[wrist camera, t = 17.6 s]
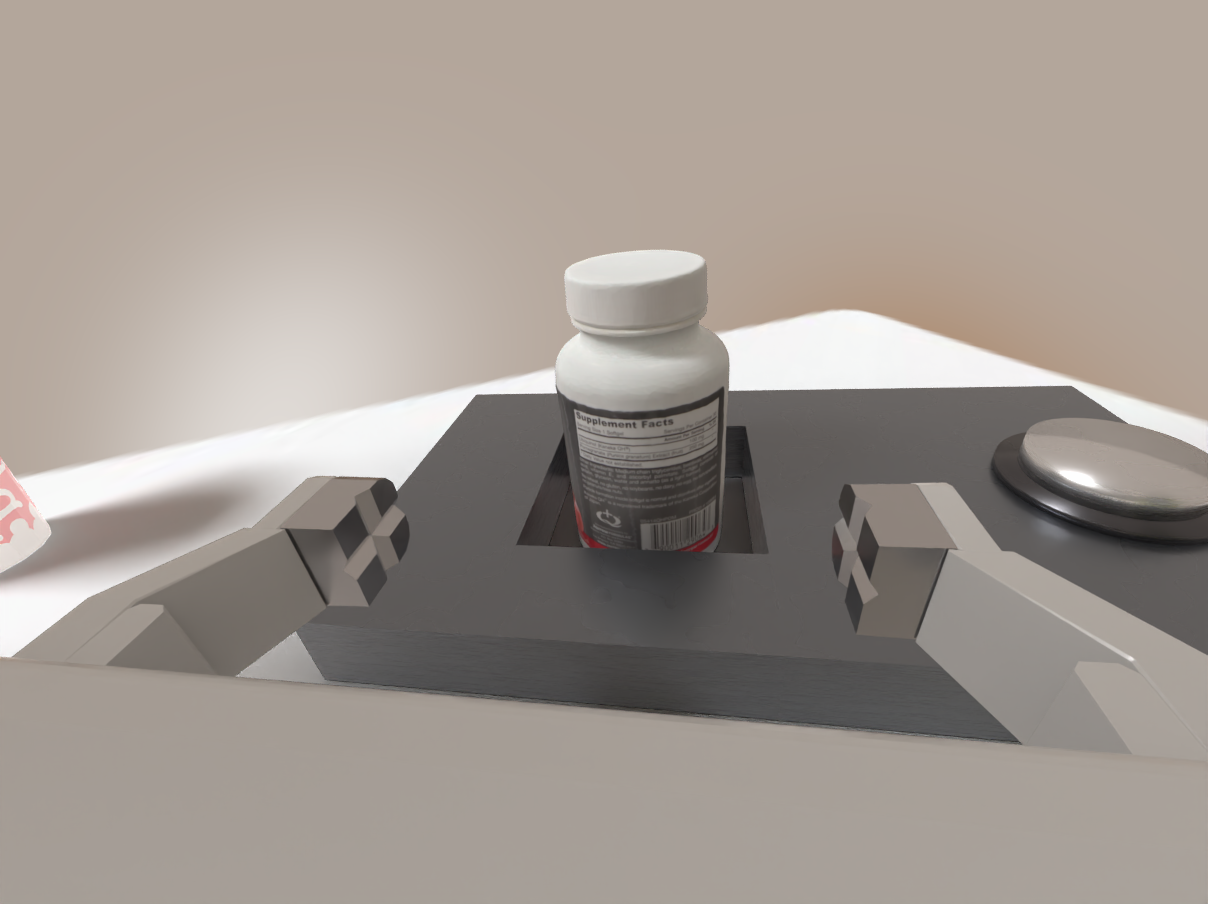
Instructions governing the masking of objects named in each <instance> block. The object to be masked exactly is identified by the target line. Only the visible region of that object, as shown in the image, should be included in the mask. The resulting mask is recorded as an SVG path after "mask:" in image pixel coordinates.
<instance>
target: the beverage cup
mask: <svg viewBox="0 0 1208 904" xmlns="http://www.w3.org/2000/svg"><path fill="white" fill-rule="evenodd" d="M51 534H52V533H51V529H50V526H49V524H48V523H47V522H46V520H45V519H44V517H43V516H42V515H41V513H40V512H39V510H38V509H37V508H36V506H35V505H34V503H33V502H32V501H31V499H30V498H29V496H28V495H27V493H26V492H25V491H24V489H23V488H22V486H21V485H20V484H19V482H18V481H17V479H16V478H15V477H14V475H13V474H12V472H11V471H10V470H9V468H8V467H7V466H6V464H5V463H4V461H3V460H2V458H1V457H0V573H1V572H3V571H5V570H7V569H8V568H10V567H12V566H14V565H16V564H17V563H19V562H21V561H23V560H24V559H26V558H27V557H28V556H30V555H31V554H32V553H34V552H35V551H36V550H37V549H39V548H40V547H41V546H43V545H44V543H45V542H46V540H47V539H48V538H49V536H50V535H51Z"/></svg>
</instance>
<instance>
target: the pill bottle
mask: <svg viewBox="0 0 1208 904" xmlns="http://www.w3.org/2000/svg"><path fill="white" fill-rule="evenodd" d="M564 276H565V292H566V302H567V312H568V314H569V315H570V316H571V322H572V324H573V325H574V326H575V327H576V328H578V329H579V330H580V333H579V334H577V335H576V336H575V337H573V338H572V339H571V340H569V341H568V342H567V343H566V344H565V345H564V347H563V348H562V349H561V351H560V353H559V355H558V357H557V361H556V365H555V376H556V390H557V394H558V400H559V406H560V412H561V418H562V425H563V430H564V437H565V444H566V451H567V457H568V464H569V471H570V478H571V485H572V492H573V499H574V508H575V515H576V521H577V526H578V532H579V537H580V541H581V544H582V546H583V547H584V548H611V549H638V550H664V551H691V552H714V550H715V548H716V547H717V545H718V543H719V540H720V535H721V529H722V514H723V497H724V485H725V482H724V481H725V452H726V422H727V405H728V390H729V356H728V352H727V349H726V347H725V345H724V344H723V342H722V341H721V340H720V338H719V337H718V336H717V335H716V334H714V333H713V332H712V331H710V330H709V329H707V328H705V327H703V326H701V325H699V320H701V319H702V318H703V317H704V315H705V314H706V311H707V307H706V305H707V303H708V294H707V266H706V261H705V260H704V258H702V257H701V256H699V255H696V254H694V253H689V252H683V251H673V250H642V251H630V252H620V253H613V254H607V255H601V256H597V257H593V258H589V259H586V260H583V261H580V262H577V263H575V264H573V265H571V266H570V267H569V268H568V269H567V270H566V272H565V275H564Z"/></svg>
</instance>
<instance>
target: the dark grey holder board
mask: <svg viewBox="0 0 1208 904" xmlns="http://www.w3.org/2000/svg"><path fill="white" fill-rule="evenodd" d="M725 477H742V481H743V488H744V495H745V501H746V508H747V515H748V522H749V529H750V536H751V543H752V550H753V554H745V553H718V552H691V551H664V550H638V549H611V548H584V547H557V546H549V543H550V540H551V537H552V535H553V532H554V529H555V526H556V523H557V520H558V517H559V514H560V511H561V508H562V506H563V503H564V500H565V497H566V494H567V491H568V488H569V485H570V482H571V478H570V471H569V464H568V457H567V451H566V444H565V437H564V430H563V425H562V418H561V412H560V406H559V400H558V394H491V395H476V396H475V397H474V398H473V399H472V401H471V402H470V403H469V404H468V406H467V407H466V408H465V409H464V410H463V412H462V413H461V414H460V415H459V417H458V418H457V419H456V420H455V421H454V423H453V424H452V425H451V426H450V428H449V429H448V430H447V431H446V432H445V434H444V435H443V436H442V437H441V439H440V440H439V441H438V442H437V443H436V445H435V446H434V447H433V448H432V450H431V451H430V452H429V453H428V454H427V456H426V457H425V458H424V459H423V461H422V462H421V463H420V464H419V465H418V467H417V468H416V469H415V470H414V472H413V473H412V474H411V475H410V476H409V478H408V479H407V480H406V481H405V483H404V484H403V485H402V486H401V487H400V489H399V490H398V491H397V494H398V499H397V501H396V503H395V506H396V507H397V508H398V509H399V510H401V511H402V512H403V513H404V514H405V515H406V518H407V521H408V524H409V532H410V538H409V542H408V546H407V551H406V552H405V554H404V556H403V557H402V559H401V560H400V562H399V563H397V564H395V565H394V566H392V567H391V568H389V569H388V570H386V573H387V579H388V580H387V581H386V583H385V584H384V586H383V587H382V588H381V590H380V591H379V593H378V594H377V596H376V597H375V599H374V600H373V602H372V603H371V605H370V606H369V607H365V606H328V605H326V607H327V608H326V609H324V610H323V611H322V612H320V613H319V614H318V615H316V616H315V617H314V618H312V619H311V620H310V621H308V622H307V623H306V624H304V625H303V626H302V627H300V628H299V629H298V630H296V632H297V634H298V636H299V637H300V639H301V641H302V642H303V644H304V646H305V647H306V649H307V650H308V652H309V654H310V655H311V657H312V659H313V660H314V662H315V664H316V665H317V667H318V669H319V670H320V672H321V674H322V675H323V677H324V679H325V680H335V681H346V682H357V683H368V684H380V685H391V686H402V687H413V688H424V689H435V690H447V691H458V692H469V693H480V694H491V695H502V696H514V697H525V698H536V699H547V700H558V701H570V702H581V703H592V704H603V705H614V706H625V707H637V708H648V709H659V710H670V711H681V712H693V713H704V714H715V715H726V716H737V717H748V718H760V719H771V720H782V721H793V722H804V723H815V724H827V725H838V726H849V727H860V728H871V729H883V730H894V731H905V732H916V733H927V734H938V735H950V736H961V737H972V738H983V739H994V740H1006V741H1017V742H1020V741H1019V740H1018V739H1017V738H1016V737H1015V736H1014V735H1013V734H1012V733H1011V732H1010V731H1009V730H1007V729H1006V728H1005V727H1004V726H1003V725H1002V724H1001V723H1000V722H999V721H998V720H997V719H996V718H995V717H994V716H993V715H992V714H991V713H990V712H989V711H988V710H986V709H985V708H984V707H983V706H982V705H981V704H980V703H979V702H978V701H977V700H976V699H975V698H974V697H973V696H972V695H971V694H970V693H969V692H968V691H966V690H965V689H964V688H963V687H962V686H961V685H960V684H959V683H958V682H957V681H956V680H955V679H954V678H953V677H952V676H951V675H950V674H949V673H948V672H946V671H945V670H944V669H943V668H942V667H941V666H940V665H939V664H938V663H937V662H936V661H935V660H934V659H933V658H932V657H931V656H930V655H929V654H928V653H926V652H925V651H924V650H923V649H922V648H921V647H920V646H919V645H918V644H917V643H916V639H904V638H892V637H880V636H867V635H856V633H855V630H854V627H853V624H852V621H851V618H850V615H849V612H848V609H847V606H846V603H845V597H846V593H847V587H846V586H845V585H843V584H842V583H841V582H840V581H838V579H837V576H836V573H835V570H834V565H833V559H832V537H833V530H834V525H835V524H836V523H837V522H838V521H840V520H841V519H842V518H843V514H842V512H841V509H840V507H839V499H840V494H841V491H842V489H843V487H844V484H911V483H947V484H949V485H951V486H953V487H954V489H955V490H956V491H957V493H958V494H959V495H960V496H961V498H962V499H963V500H964V502H965V503H966V504H967V506H968V507H969V508H970V510H971V511H972V512H973V514H974V515H975V516H976V518H977V519H978V520H979V522H980V523H981V524H982V525H983V527H984V528H985V529H986V531H987V532H988V533H989V535H990V536H991V537H992V539H993V540H994V541H995V543H996V544H997V545H998V547H999V548H1000V549H1001V551H1010V552H1015V553H1017V554H1019V555H1021V556H1023V557H1025V558H1026V559H1028V560H1030V561H1032V562H1034V563H1036V564H1038V565H1040V566H1041V567H1043V568H1045V569H1047V570H1049V571H1051V572H1053V573H1055V574H1056V575H1058V576H1060V577H1062V578H1064V579H1066V580H1068V581H1069V582H1071V583H1073V584H1075V585H1077V586H1079V587H1081V588H1083V589H1084V590H1086V591H1088V592H1090V593H1092V594H1094V595H1096V596H1097V597H1099V598H1101V599H1103V600H1105V601H1107V602H1109V603H1111V604H1112V605H1114V606H1116V607H1118V608H1120V609H1122V610H1124V611H1126V612H1127V613H1129V614H1131V615H1133V616H1135V617H1137V618H1139V619H1140V620H1142V621H1144V622H1146V623H1148V624H1150V625H1152V626H1154V627H1155V628H1157V629H1159V630H1161V631H1163V632H1165V633H1167V634H1168V635H1170V636H1172V637H1174V638H1176V639H1178V640H1180V641H1182V642H1183V643H1185V644H1187V645H1189V646H1191V647H1193V648H1195V649H1197V650H1198V651H1200V652H1202V653H1204V654H1206V655H1208V454H1207V453H1206V452H1204V451H1202V450H1200V449H1199V448H1197V447H1195V446H1193V445H1191V444H1189V443H1186V442H1184V441H1182V440H1179V439H1177V438H1174V437H1171V436H1169V435H1166V434H1163V433H1160V432H1157V431H1154V430H1150V429H1146V428H1143V427H1139V426H1134V425H1130V424H1128V423H1126V422H1125V421H1123V420H1122V419H1120V418H1119V417H1117V416H1116V415H1114V414H1113V413H1111V412H1110V411H1108V410H1107V409H1105V408H1104V407H1102V406H1101V405H1099V404H1098V403H1096V402H1095V401H1093V400H1092V399H1090V398H1089V397H1087V396H1086V395H1084V394H1083V393H1081V392H1080V391H1078V390H1077V389H1075V388H1074V387H1072V386H1033V387H966V388H898V389H830V390H762V391H728V405H727V422H726V452H725Z"/></svg>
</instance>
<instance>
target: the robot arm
mask: <svg viewBox="0 0 1208 904" xmlns="http://www.w3.org/2000/svg"><path fill="white" fill-rule="evenodd" d="M397 499H398V494H397V491H396V489H395V487H394V484H393V482H391V481H389V480H388V479H386V478H370V477H336V476H315V477H311V478H307V479H306V480H305V481H304V482H303V483H302V484H300V485H299V486H298V487H297V488H296V489H295V490H294V491H293V492H292V493H290V494H289V495H288V496H287V497H286V498H285V499H284V500H283V501H281V502H280V503H279V504H278V505H277V506H276V507H275V508H274V509H272V510H271V511H270V512H269V513H268V514H267V515H266V516H265V517H264V518H262V519H261V520H260V521H259V522H258V523H257V524H256V525H255V526H253V527H252V528H243V529H241V530H239V531H236V532H234V533H232V534H230V535H227V536H225V537H223V538H221V539H219V540H216V541H214V542H212V543H210V544H207V545H205V546H203V547H201V548H198V549H196V550H194V551H192V552H190V553H187V554H185V555H183V556H181V557H178V558H176V559H174V560H172V561H169V562H167V563H165V564H163V565H161V566H158V567H156V568H154V569H152V570H149V571H147V572H145V573H143V574H140V575H138V576H136V577H134V578H132V579H129V580H127V581H125V582H123V583H120V584H118V585H116V586H114V587H111V588H109V589H107V590H105V591H103V592H100V593H98V594H96V595H94V596H91V597H89V598H87V599H86V600H85V601H83V602H82V603H81V604H80V605H78V606H77V607H76V608H74V609H73V610H72V611H70V612H69V613H68V614H67V615H65V616H64V617H63V618H61V619H60V620H59V621H58V622H56V623H55V624H54V625H52V626H51V627H50V628H48V629H47V630H46V631H45V632H43V633H42V634H41V635H39V636H38V637H37V638H36V639H34V640H33V641H32V642H30V643H29V644H28V645H26V646H25V647H24V648H23V649H21V650H20V651H19V652H17V653H16V654H15V655H14V656H12V657H0V904H1208V655H1206V654H1204V653H1202V652H1200V651H1198V650H1197V649H1195V648H1193V647H1191V646H1189V645H1187V644H1185V643H1183V642H1182V641H1180V640H1178V639H1176V638H1174V637H1172V636H1170V635H1168V634H1167V633H1165V632H1163V631H1161V630H1159V629H1157V628H1155V627H1154V626H1152V625H1150V624H1148V623H1146V622H1144V621H1142V620H1140V619H1139V618H1137V617H1135V616H1133V615H1131V614H1129V613H1127V612H1126V611H1124V610H1122V609H1120V608H1118V607H1116V606H1114V605H1112V604H1111V603H1109V602H1107V601H1105V600H1103V599H1101V598H1099V597H1097V596H1096V595H1094V594H1092V593H1090V592H1088V591H1086V590H1084V589H1083V588H1081V587H1079V586H1077V585H1075V584H1073V583H1071V582H1069V581H1068V580H1066V579H1064V578H1062V577H1060V576H1058V575H1056V574H1055V573H1053V572H1051V571H1049V570H1047V569H1045V568H1043V567H1041V566H1040V565H1038V564H1036V563H1034V562H1032V561H1030V560H1028V559H1026V558H1025V557H1023V556H1021V555H1019V554H1017V553H1015V552H1010V551H1001V549H1000V548H999V547H998V545H997V544H996V543H995V541H994V540H993V539H992V537H991V536H990V535H989V533H988V532H987V531H986V529H985V528H984V527H983V525H982V524H981V523H980V522H979V520H978V519H977V518H976V516H975V515H974V514H973V512H972V511H971V510H970V508H969V507H968V506H967V504H966V503H965V502H964V500H963V499H962V498H961V496H960V495H959V494H958V493H957V491H956V490H955V489H954V487H953V486H951V485H949V484H947V483H911V484H844V487H843V489H842V491H841V494H840V499H839V507H840V509H841V512H842V514H843V518H842V519H841V520H840V521H838V522H837V523H836V524H835V525H834V530H833V537H832V559H833V565H834V570H835V573H836V576H837V579H838V581H840V582H841V583H842V584H843V585H845V586H846V587H847V593H846V597H845V603H846V606H847V609H848V612H849V615H850V618H851V621H852V624H853V627H854V630H855V633H856V635H867V636H880V637H892V638H904V639H916V643H917V644H918V645H919V646H920V647H921V648H922V649H923V650H924V651H925V652H926V653H928V654H929V655H930V656H931V657H932V658H933V659H934V660H935V661H936V662H937V663H938V664H939V665H940V666H941V667H942V668H943V669H944V670H945V671H946V672H948V673H949V674H950V675H951V676H952V677H953V678H954V679H955V680H956V681H957V682H958V683H959V684H960V685H961V686H962V687H963V688H964V689H965V690H966V691H968V692H969V693H970V694H971V695H972V696H973V697H974V698H975V699H976V700H977V701H978V702H979V703H980V704H981V705H982V706H983V707H984V708H985V709H986V710H988V711H989V712H990V713H991V714H992V715H993V716H994V717H995V718H996V719H997V720H998V721H999V722H1000V723H1001V724H1002V725H1003V726H1004V727H1005V728H1006V729H1007V730H1009V731H1010V732H1011V733H1012V734H1013V735H1014V736H1015V737H1016V738H1017V739H1018V740H1019V741H1020V742H1021V743H1022V744H1023V745H1017V744H1005V743H994V742H983V741H971V740H960V739H948V738H937V737H925V736H914V735H902V734H891V733H879V732H868V731H856V730H845V729H833V728H822V727H810V726H799V725H787V724H775V723H764V722H752V721H741V720H729V719H717V718H706V717H694V716H683V715H671V714H659V713H648V712H636V711H625V710H613V709H601V708H590V707H578V706H567V705H555V704H544V703H532V702H521V701H509V700H498V699H486V698H475V697H463V696H452V695H440V694H429V693H417V692H406V691H394V690H383V689H371V688H359V687H348V686H336V685H325V684H313V683H302V682H290V681H279V680H267V679H255V678H244V677H235V676H236V675H237V674H239V673H240V672H241V671H243V670H244V669H245V668H247V667H248V666H249V665H251V664H252V663H253V662H255V661H256V660H257V659H259V658H260V657H261V656H263V655H264V654H265V653H267V652H268V651H269V650H271V649H272V648H273V647H275V646H276V645H277V644H279V643H280V642H282V641H283V640H284V639H286V638H287V637H288V636H290V635H291V634H292V633H294V632H295V631H296V630H298V629H299V628H300V627H302V626H303V625H304V624H306V623H307V622H308V621H310V620H311V619H312V618H314V617H315V616H316V615H318V614H319V613H320V612H322V611H323V610H324V609H326V608H327V607H326V605H328V606H365V607H369V606H370V605H371V603H372V602H373V600H374V599H375V597H376V596H377V594H378V593H379V591H380V590H381V588H382V587H383V586H384V584H385V583H386V581H387V580H388V579H387V573H386V570H388V569H389V568H391V567H392V566H394V565H395V564H397V563H399V562H400V560H401V559H402V557H403V556H404V554H405V552H406V551H407V546H408V542H409V538H410V532H409V524H408V521H407V518H406V515H405V514H404V513H403V512H402V511H401V510H399V509H398V508H397V507H396V506H395V503H396V501H397Z"/></svg>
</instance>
